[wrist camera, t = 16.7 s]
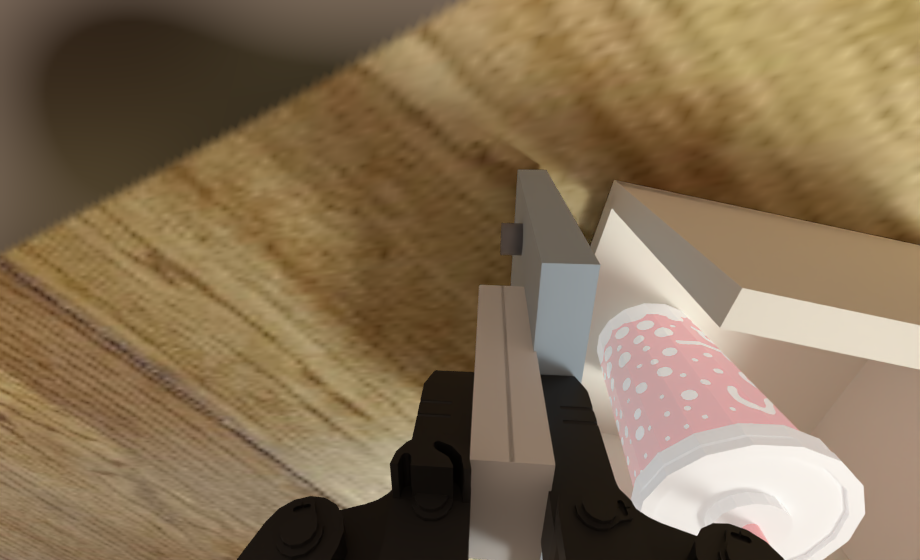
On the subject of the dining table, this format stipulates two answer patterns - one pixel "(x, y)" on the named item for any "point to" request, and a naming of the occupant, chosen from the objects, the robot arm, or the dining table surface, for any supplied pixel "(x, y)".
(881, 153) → the dining table surface
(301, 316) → the dining table surface
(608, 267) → the cubby
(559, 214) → the door
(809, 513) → the beverage cup
